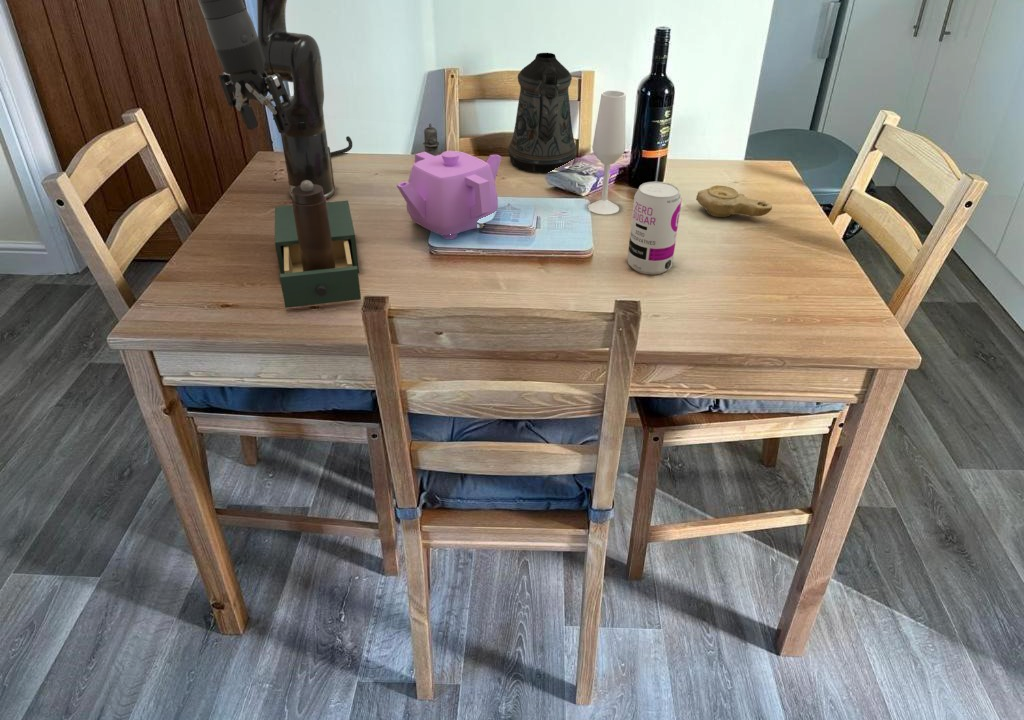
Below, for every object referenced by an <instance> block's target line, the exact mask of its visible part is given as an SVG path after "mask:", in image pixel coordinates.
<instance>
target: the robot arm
mask: <svg viewBox="0 0 1024 720" xmlns="http://www.w3.org/2000/svg"><path fill="white" fill-rule="evenodd" d="M287 1H288V0H256V11H257V12H256V13H257V31H256V28H255V25H254V22H253V20H252V17H251V16H250V14H249V12H248V9H247V7H246V5H245V4H246V3H245V1H244V0H197V2H198V5H199V7H200V10H201V12H202V15H203V18H204V21H205V24H206V28H207V32H208V35H209V37H210V40H211V42H212V45H213V47H214V50H215V53H216V55H217V58H218V60H219V63H220V65H221V68H222V71H223V72H222V73H220V74H219V75H218V80H219V82H220V85H221V87H222V90H223V93H224V95H225V99H226V102H227V104H228V106H229V107H231V108H233V107H234V108H235V109H236V110H237V111H238V112H240V115H241V117H242V120H243V122H244V123H243V124H244V125H245V126H246V129H247V130H249V131H253V130H254V129H256V128H258V127H259V122H258V120H257V116H256V114H255V112H254V109H253V107H252V106H251V100H254V101H258V102H259V103H260V104H261V105H262V106H266V107H267V108H268V110H269V111H270V112H271V113H272V117H273V120H274V123H275V126H276V128H277V131H278V133H279V134H280V137H281V145H282V149H283V150H282V151H283V157H284V162H285V168H286V174H287V180H288V188H289V195H290V198H291V199H292V198H293V194H292V190H293V188H295V187H297V186H299V185H301V183H302V182H303V181H304V180H309V181H311V182H312V184H316V185H320V186H321V187H322V188H323V194H324V196H325V197H326V200H328V199H330V198H331V197H333V196H334V193H335V189H336V188H335V187H336V185H335V179H334V178H335V177H334V171H333V163H332V157H334V156H339V155H343V154H345V153H348V152H350V151H351V150H352V149H353V141H352V138H351V137H350V136H349V135H348V136H346V137H345V140H346V142H347V143H348V145H347V147H345V148H342V149H338V150H333V151H331V148H330V146H329V144H328V137H327V136H328V135H327V129H326V128H327V127H326V122H325V115H324V102H325V87H324V74H323V62H322V61H323V60H322V55H321V51H320V46H319V44H318V42H317V40H316V39H315V38H314V37H313V36H311V35H309V34H306V33H297V32H288V30H287V20H286V13H287V11H286V10H287V9H286V8H287ZM284 82H286V83H292V85H293V94H292V95H290V96H289V94H288V92H287V89H286V87H285V84H284ZM232 93H233V95H234V97H233V95H232ZM268 93H269V94H270V95H268ZM281 98H282V99H281ZM273 102H274V103H273Z"/></svg>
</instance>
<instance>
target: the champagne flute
mask: <svg viewBox="0 0 1024 720" xmlns="http://www.w3.org/2000/svg"><path fill="white" fill-rule="evenodd" d="M626 97H627V95H626V93H625V92H624V91H620V90H611V89H610V90H609V89H608V90H603V91H602V92H601V94H600V100H599V105H598V112H597V118H596V123H595V124H596V125H595V129H594V134H593V141H592V152H593V154H594V155H595V157H596V158H597V160H598V161H599V162H601V163H602V164H603V166H604V167H603V176H602V177H603V179H602V187H601V199H599V200H596V201H594V202H592V203H590V204H589V205H588V206H587V209H588V210H589V211H590V212H591V213H594V214H596V215H597V214H598V215H613V214H616V213H618V212H619V210H620V207H619V206H618V205H617V204H616V203H613V202H612V201H610V200H609V199H608V193H609V182H610V172H611V165H612V164H614V163H615V162H617V161H619V160H620V159H621V157H622V156H624V154H625V152H626V117H627V116H626V114H627V113H626V112H627V111H626V108H627V107H626V106H627V105H626V104H627V103H626V99H627V98H626Z"/></svg>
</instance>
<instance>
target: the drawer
mask: <svg viewBox="0 0 1024 720" xmlns="http://www.w3.org/2000/svg"><path fill="white" fill-rule="evenodd" d="M332 246H333V254H334V261H335V268H332V269H322V270H312V271H303V267H302V261H301V255H300V249H299V244H296V245H285V246H284V272H285V273H284V274H281V273H280V274H279V281H280V286H281V293H282V297H283V303H284V308H285V309H287V308H289V309H290V308H296V307H306V306H307V307H308V306H313V305H323V304H324V305H325V304H331V303H340V302H350V301H358V300H359V301H360V300H362V296H361V286H360V278H359V273H358V269H357V266H352V260H351V254H350V249H349V243H348V239H347V240H337V241H332Z"/></svg>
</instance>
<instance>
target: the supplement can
mask: <svg viewBox="0 0 1024 720" xmlns="http://www.w3.org/2000/svg"><path fill="white" fill-rule="evenodd" d="M682 199H683V198H682V196H681V194H680V189H679V188H678V186H676V185H674V184H671V183H669V182H665V181H647V182H643V183H642V184H640V185H639V186H638V189H637V190H636V192H635V194H634V197H633V205H632V215H631V223H630V233H629V242H628V251H627V264H628V265H629V266H630V268H631V269H633V270H634V271H636V272H637V273H640V274H644V275H653V276H654V275H661V274H663V273H666V272H667V271H668V270H669V269H671V268H672V266H673V261H674V256H675V248H676V241H677V234H678V228H679V222H680V221H679V220H680V215H681V214H680V213H681V209H682V208H681V207H682Z"/></svg>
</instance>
